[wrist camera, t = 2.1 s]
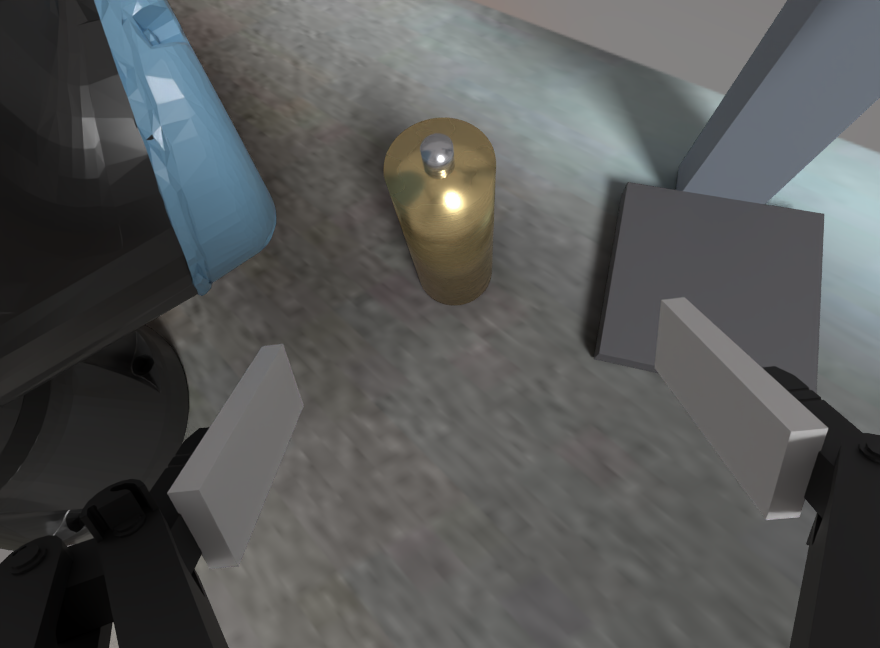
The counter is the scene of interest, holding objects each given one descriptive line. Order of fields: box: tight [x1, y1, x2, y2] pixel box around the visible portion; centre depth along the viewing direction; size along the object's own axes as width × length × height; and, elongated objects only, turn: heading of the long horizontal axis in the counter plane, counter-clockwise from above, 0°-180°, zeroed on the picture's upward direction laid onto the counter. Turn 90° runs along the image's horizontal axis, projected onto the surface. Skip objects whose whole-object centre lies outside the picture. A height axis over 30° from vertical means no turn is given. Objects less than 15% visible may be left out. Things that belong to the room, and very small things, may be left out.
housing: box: [384, 118, 496, 305], centre depth 26 cm, size 5×5×13 cm
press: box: [594, 0, 880, 394], centre depth 18 cm, size 15×15×28 cm
